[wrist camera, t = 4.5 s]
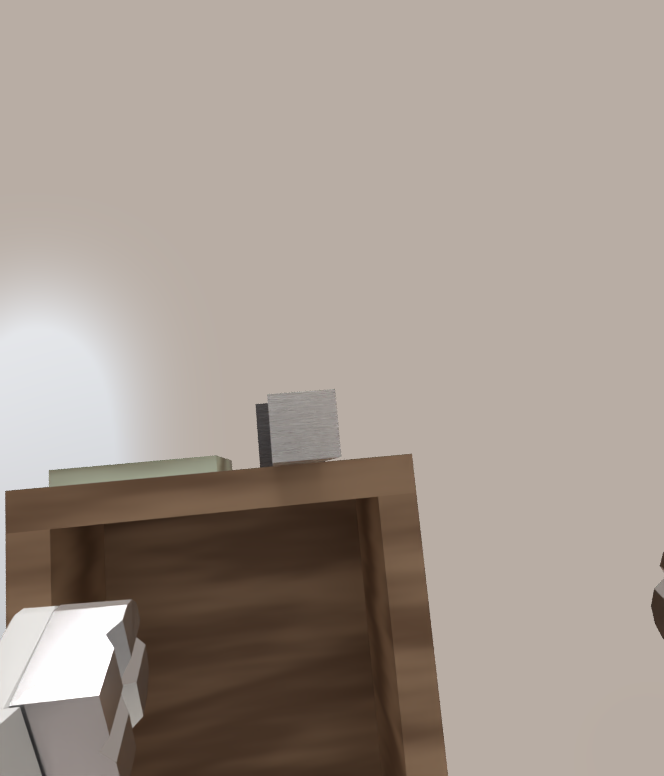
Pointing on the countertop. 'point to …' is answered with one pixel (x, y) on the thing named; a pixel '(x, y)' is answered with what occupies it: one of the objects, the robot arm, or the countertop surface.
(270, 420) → the grey metal bar
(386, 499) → the brown wooden box
